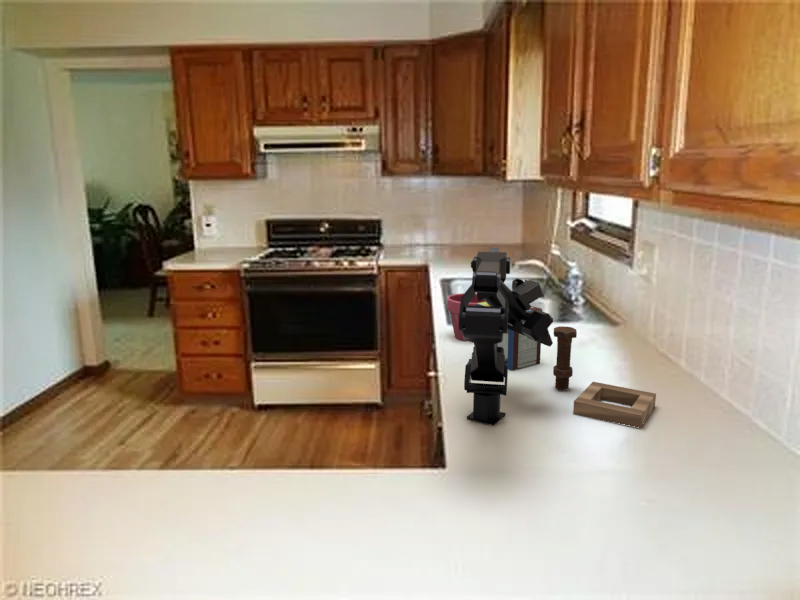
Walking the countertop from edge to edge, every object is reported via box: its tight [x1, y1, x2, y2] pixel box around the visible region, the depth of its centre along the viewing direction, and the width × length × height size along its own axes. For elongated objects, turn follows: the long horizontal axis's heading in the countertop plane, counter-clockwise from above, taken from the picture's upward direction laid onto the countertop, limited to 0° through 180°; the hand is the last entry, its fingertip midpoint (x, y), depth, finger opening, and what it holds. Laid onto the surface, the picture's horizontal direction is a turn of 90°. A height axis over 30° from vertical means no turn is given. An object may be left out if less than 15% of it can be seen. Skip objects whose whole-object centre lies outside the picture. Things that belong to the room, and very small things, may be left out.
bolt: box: [552, 325, 577, 391], centre depth 144 cm, size 6×5×15 cm
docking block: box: [572, 381, 657, 429], centre depth 133 cm, size 14×14×3 cm
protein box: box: [477, 302, 543, 372], centre depth 166 cm, size 10×15×16 cm
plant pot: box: [446, 292, 486, 342], centre depth 187 cm, size 14×14×13 cm
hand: (538, 339), depth 140 cm, fingers open, 9 cm apart
